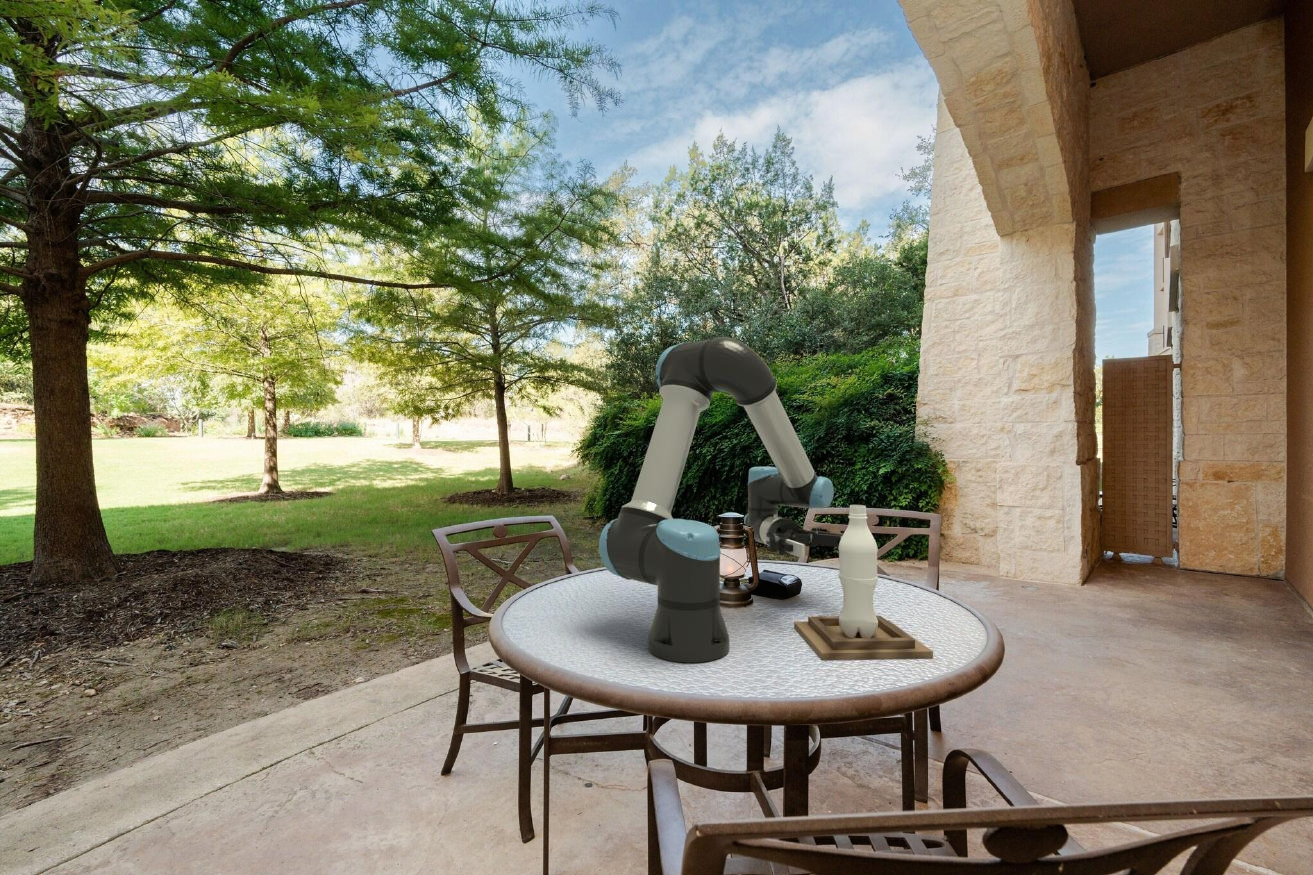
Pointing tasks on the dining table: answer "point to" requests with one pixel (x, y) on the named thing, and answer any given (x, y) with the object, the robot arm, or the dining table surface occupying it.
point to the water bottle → (858, 576)
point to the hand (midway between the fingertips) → (832, 549)
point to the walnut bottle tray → (859, 641)
